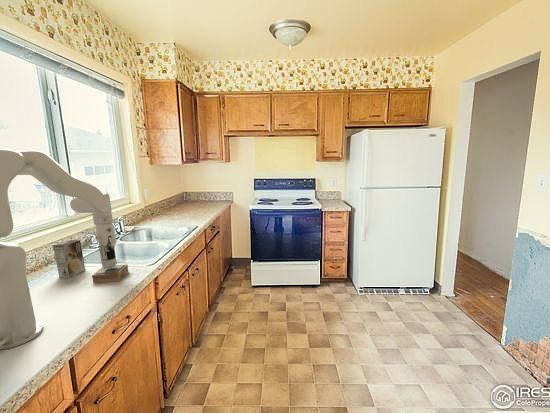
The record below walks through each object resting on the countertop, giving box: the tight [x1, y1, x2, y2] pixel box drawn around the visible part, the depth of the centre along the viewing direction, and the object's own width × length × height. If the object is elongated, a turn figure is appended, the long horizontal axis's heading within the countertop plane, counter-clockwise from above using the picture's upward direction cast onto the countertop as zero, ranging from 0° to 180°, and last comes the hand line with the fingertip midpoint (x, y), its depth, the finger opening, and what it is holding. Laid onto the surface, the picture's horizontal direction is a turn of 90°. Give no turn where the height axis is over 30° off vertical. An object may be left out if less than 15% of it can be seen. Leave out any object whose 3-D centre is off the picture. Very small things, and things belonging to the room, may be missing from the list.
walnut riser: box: [91, 263, 129, 284], centre depth 131 cm, size 11×11×4 cm
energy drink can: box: [97, 238, 118, 268], centre depth 129 cm, size 6×6×15 cm
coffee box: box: [52, 239, 86, 279], centre depth 136 cm, size 9×6×16 cm
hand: (108, 257), depth 129 cm, fingers closed on energy drink can, 6 cm apart
